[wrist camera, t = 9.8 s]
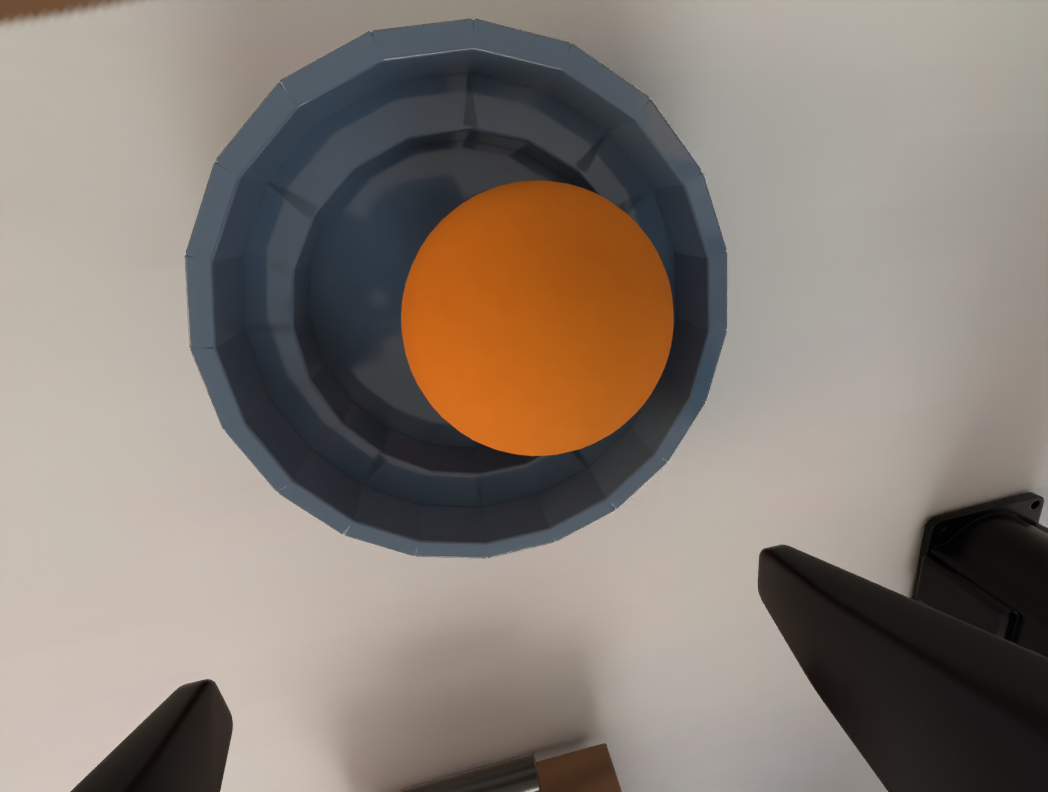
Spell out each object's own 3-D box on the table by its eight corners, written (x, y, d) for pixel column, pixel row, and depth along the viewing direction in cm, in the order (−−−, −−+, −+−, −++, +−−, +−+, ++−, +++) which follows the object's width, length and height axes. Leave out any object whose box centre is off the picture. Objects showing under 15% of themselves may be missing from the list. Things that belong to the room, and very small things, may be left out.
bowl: (644, 49, 16) (728, -15, 12) (664, 439, 21) (727, 502, 17) (185, 110, 15) (71, 66, 10) (326, 513, 20) (294, 604, 15)
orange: (546, 183, 18) (734, 142, 12) (572, 381, 20) (736, 431, 14) (334, 214, 14) (447, 179, 8) (399, 449, 17) (520, 554, 11)
